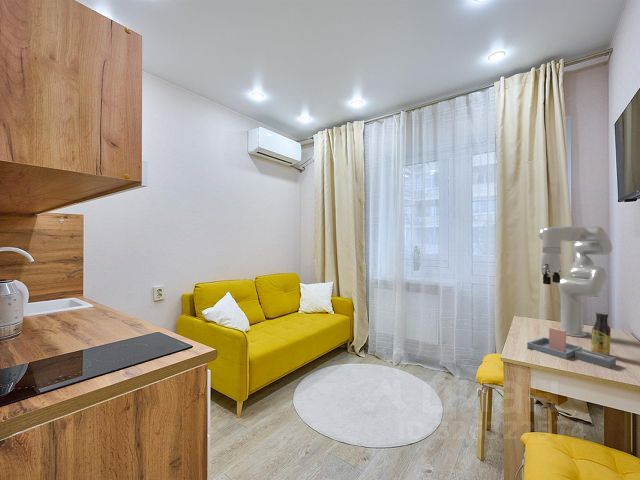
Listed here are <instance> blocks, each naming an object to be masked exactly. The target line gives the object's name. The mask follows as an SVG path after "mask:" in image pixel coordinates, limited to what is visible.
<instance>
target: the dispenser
mask: <svg viewBox="0 0 640 480" xmlns="http://www.w3.org/2000/svg"><path fill="white" fill-rule="evenodd" d="M574 360H578V361H582V362H584V363H588V364H592V365H594V366H595V365H596V366H597V367H602V368H604V369H611V368H613V367H615V366H616V365H617V364H616V363H617V358H616V357H615V356H610V355H609V356H607V355H603V354H599V353H596V352H592V351H591V350H588V349H584V348H582V349H581V350H579V351H576V352H575V356H574Z"/></svg>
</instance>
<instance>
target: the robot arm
mask: <svg viewBox="0 0 640 480" xmlns="http://www.w3.org/2000/svg"><path fill="white" fill-rule="evenodd" d="M538 236H539V239H540V241H541V240H542V248H541V249H542V256H541V264H540V266H541V267H540V270H541V274H542V284H544V285H548V286H549V285H551V284H552V283H556V284H557V285H558V290H559V297H560V327H559V328H557V329H560V330H565V331H566V336H570V337H577V338H583V337H584V338H585V337H586V336H587V333H586V332H585V331H583V330H584V327H585V326H584V325H583V324H584V321H583V320H584V318H583V317H584V307H583V306H584V304H583V301H582V299H581V298H580V296H581V297H589V298H596V297H598V296H599V295H600V293H601V291H602V290H603V287H604V285H605V283H606V281H607V274H608V273H607V270H606V269H605V268H604V267H601V266H598V265H597V266H596V265H595V262H594V260H593V259H592V258H590V257H589V255H594V256H596V255H599V256H602V255H603V256H605V255H606V256H607V255H610V254H611V253H612V250H613V244H612V242H611V240H610V238H609V236H608V233H607V232H606V230H605V229H604V228H602V227H601V226H549V227H542V228H541V229H540V230H539V232H538ZM561 242H566V243H567V242H568V243H569V242H570V243H571V242H572V243H573V245H572V252H573V257H574V262H573V264H572V265H571V267H570V268H569V271H568V276H565V277H561V269H562V266H561V254H562V253H561V251H562V250H561V249H562V248H561V245H562V244H561ZM551 274H552V276H551ZM551 280H552V281H551ZM551 282H552V283H551Z"/></svg>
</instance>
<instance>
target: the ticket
mask: <svg viewBox="0 0 640 480" xmlns="http://www.w3.org/2000/svg"><path fill="white" fill-rule="evenodd" d="M548 334H549V335H548V338H549V348H550V349H553V350H557V351H560V352H564V353H565V352H566V343H567V335H566V331H565V330H560V329H558V328H555V327H549V328H548Z"/></svg>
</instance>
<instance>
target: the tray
mask: <svg viewBox="0 0 640 480" xmlns="http://www.w3.org/2000/svg"><path fill="white" fill-rule="evenodd" d="M526 345H527V348H526V349H527V350H530V351H537V352H539V353H544V354H547V355H551V356H553V357H556V358H560V359H564V360H568V359H570V358H573V357H575V352H576V351H579V350H581V349H583V347H582V346H580V345H579V346H578V345H575V344H572V343H567V342H566V352H565V353H564V352H560V351H557V350H553V349H550V348H549V337H548V338H547V337H545V336H543V337H541V338H538V339H533V340H532V341H528V342H526Z"/></svg>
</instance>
